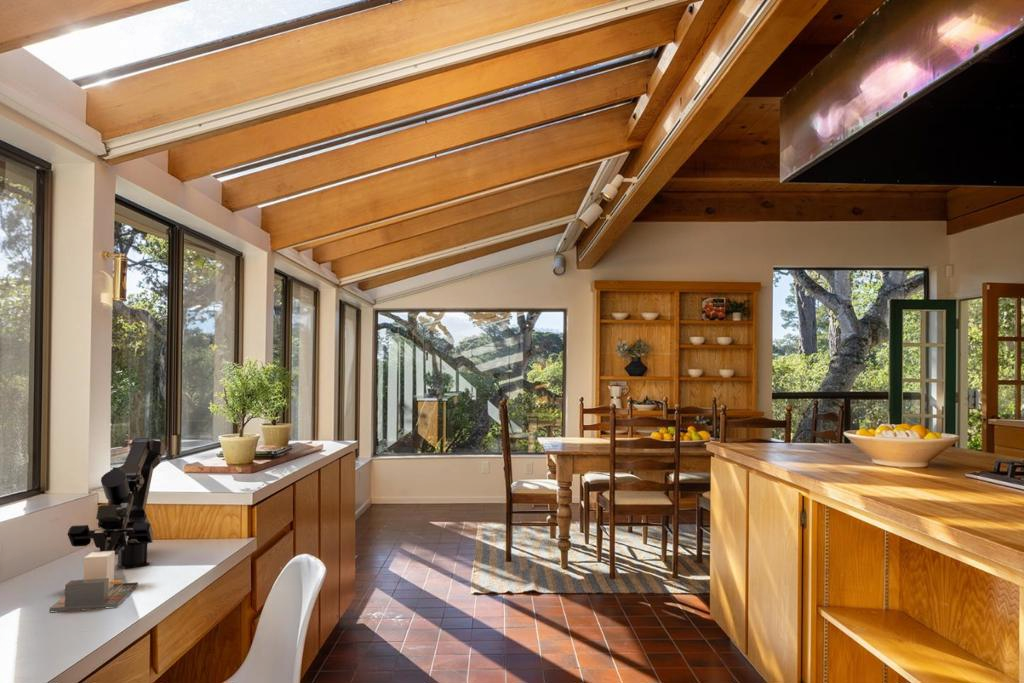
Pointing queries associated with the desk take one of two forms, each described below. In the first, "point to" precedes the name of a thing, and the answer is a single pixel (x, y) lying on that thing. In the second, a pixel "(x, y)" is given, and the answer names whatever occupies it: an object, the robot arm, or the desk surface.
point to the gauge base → (93, 595)
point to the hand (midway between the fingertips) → (103, 563)
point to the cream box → (100, 567)
